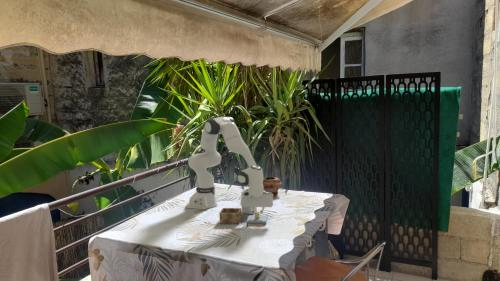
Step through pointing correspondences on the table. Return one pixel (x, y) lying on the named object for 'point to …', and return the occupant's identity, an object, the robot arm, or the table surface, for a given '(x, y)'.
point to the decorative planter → (271, 185)
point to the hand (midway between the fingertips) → (257, 213)
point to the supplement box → (246, 209)
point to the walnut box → (230, 216)
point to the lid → (257, 218)
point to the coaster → (256, 224)
